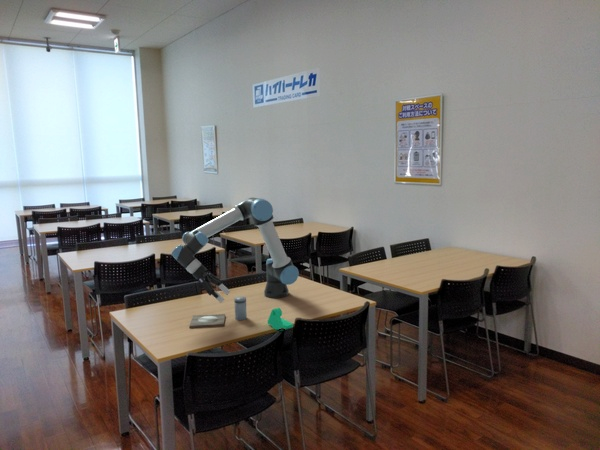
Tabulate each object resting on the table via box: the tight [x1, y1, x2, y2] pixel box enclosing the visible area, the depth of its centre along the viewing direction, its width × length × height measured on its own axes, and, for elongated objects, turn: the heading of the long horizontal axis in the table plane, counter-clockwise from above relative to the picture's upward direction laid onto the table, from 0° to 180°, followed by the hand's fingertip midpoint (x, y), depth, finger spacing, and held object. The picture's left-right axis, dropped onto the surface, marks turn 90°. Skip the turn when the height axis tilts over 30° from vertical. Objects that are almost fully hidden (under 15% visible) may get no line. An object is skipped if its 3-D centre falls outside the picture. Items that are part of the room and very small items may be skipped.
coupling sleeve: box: [234, 296, 248, 321], centre depth 242 cm, size 6×6×11 cm
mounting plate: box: [188, 313, 226, 329], centre depth 238 cm, size 15×17×1 cm
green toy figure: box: [267, 307, 294, 331], centre depth 229 cm, size 12×8×10 cm, turn 36°
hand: (225, 297), depth 241 cm, fingers open, 13 cm apart
